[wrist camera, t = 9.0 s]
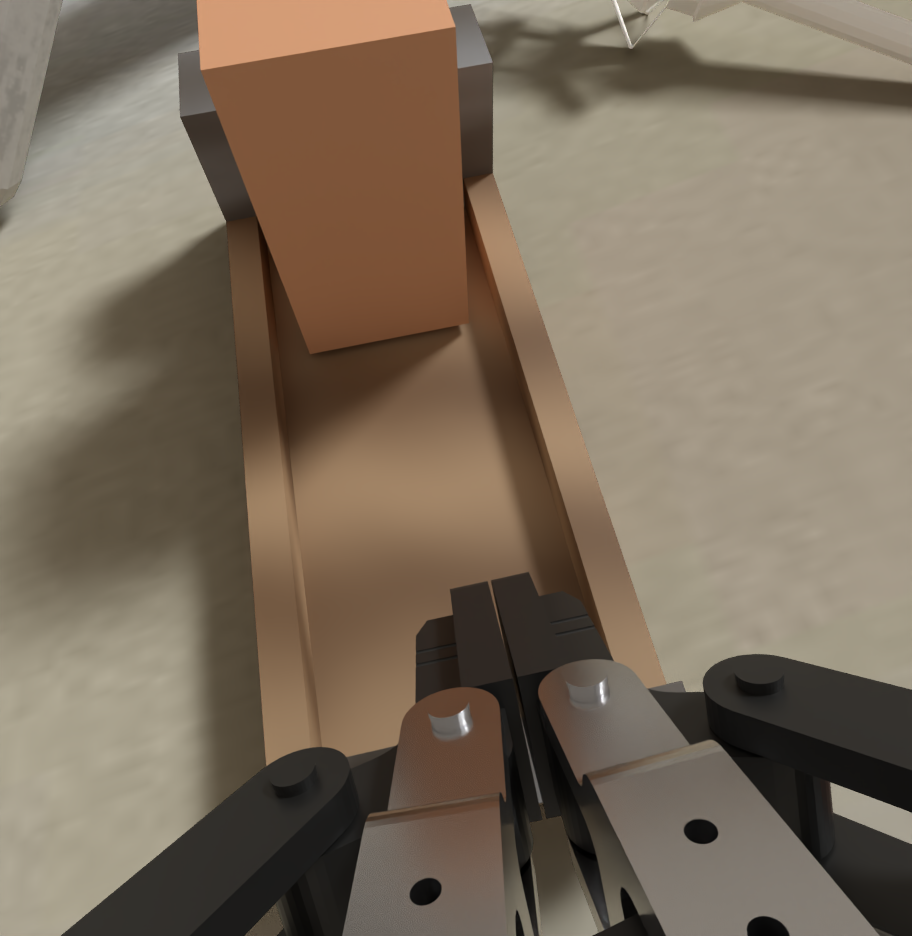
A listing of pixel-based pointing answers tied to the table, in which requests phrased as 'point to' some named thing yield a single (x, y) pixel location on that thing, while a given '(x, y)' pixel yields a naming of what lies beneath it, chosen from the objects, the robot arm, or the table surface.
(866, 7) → the beige openwork piece
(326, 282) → the orange rectangular block
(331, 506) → the rail
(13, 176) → the leaning slabs
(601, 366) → the table surface
